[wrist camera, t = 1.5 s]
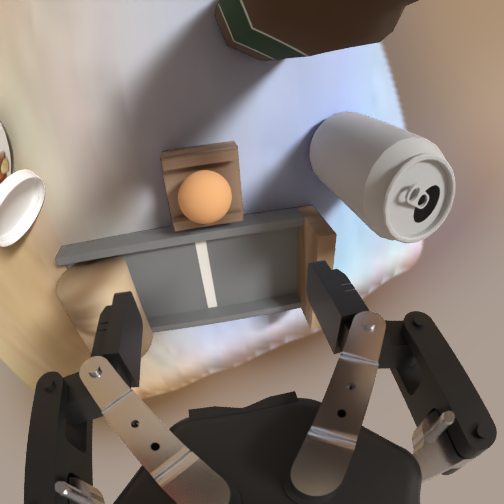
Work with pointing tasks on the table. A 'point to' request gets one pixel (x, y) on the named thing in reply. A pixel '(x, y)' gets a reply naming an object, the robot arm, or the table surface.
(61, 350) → the table surface
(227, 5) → the beer bottle
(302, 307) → the backstop
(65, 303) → the log
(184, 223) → the tee
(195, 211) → the ball
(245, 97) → the table surface
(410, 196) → the can
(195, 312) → the lane
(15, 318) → the table surface
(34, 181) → the spread jar
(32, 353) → the table surface
